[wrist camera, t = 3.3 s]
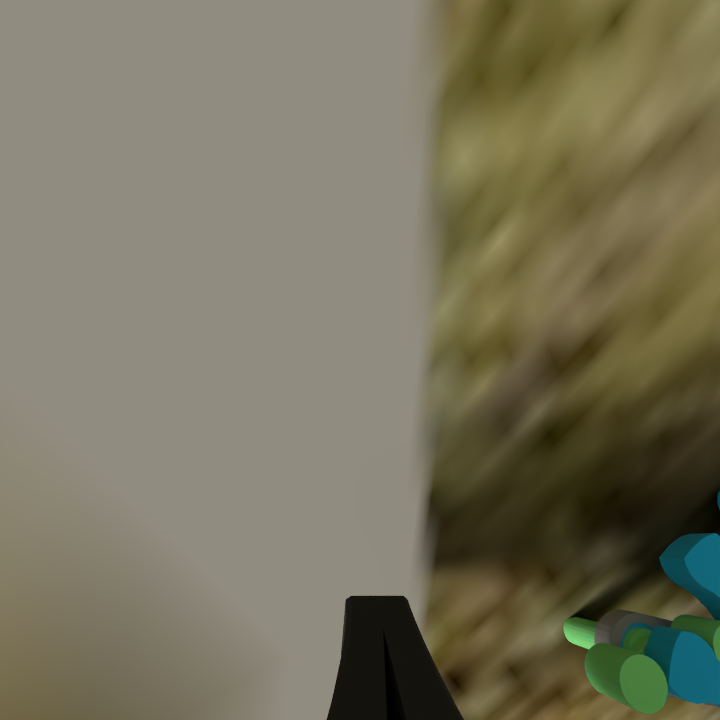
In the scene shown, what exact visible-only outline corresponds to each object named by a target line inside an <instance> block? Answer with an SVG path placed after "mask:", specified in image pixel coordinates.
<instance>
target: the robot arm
mask: <svg viewBox="0 0 720 720" xmlns="http://www.w3.org/2000/svg"><path fill="white" fill-rule="evenodd" d="M327 720H464V719H463V717H462V716H461V714H460V712H459V710H458V708H457V706H456V705H455V703H454V701H453V699H452V697H451V695H450V693H449V691H448V689H447V687H446V685H445V683H444V681H443V680H442V678H441V676H440V674H439V672H438V670H437V668H436V666H435V664H434V661H433V659H432V657H431V655H430V653H429V651H428V649H427V646H426V644H425V642H424V640H423V638H422V635H421V633H420V631H419V628H418V626H417V624H416V621H415V619H414V616H413V613H412V611H411V608H410V606H409V603H408V600H407V599H406V598H405V597H404V596H350V597H349V598H347V599H346V604H345V615H344V627H343V639H342V650H341V660H340V665H339V670H338V675H337V680H336V684H335V689H334V694H333V698H332V702H331V706H330V709H329V713H328V717H327Z"/></svg>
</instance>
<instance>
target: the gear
mask: <svg viewBox="0 0 720 720" xmlns="http://www.w3.org/2000/svg"><path fill="white" fill-rule="evenodd" d="M717 499H718V506H719V509H720V492H718V497H717ZM659 559H660V563H661V566H662V568H663V570H664V572H665V573H666V574H667V576H668V577H669V578H670V579H671V580H672V581H673V582H674V583H675V584H677V585H679V586H681V587H682V588H684V589H686V590H687V591H689V592H690V593H691V594H692V595H694V596H695V597H696V598H697V599H698V600H699V601H700V602H701V603H702V604H703V605H704V606H705V607H706V608H707V609H708V611H709V612H710V613H711V615H712V616H713V617H714V619H715V620H714V619H708V618H703V617H697V616H692V615H680V616H678V617H676V618H675V619H674V620H673V621H669V620H665V619H661V618H657V617H653V616H648V615H645V614H641V613H636V612H631V611H626V610H613V611H610V612H608V613H606V614H605V615H604V616H603V617H602V618H601V619H600V621H599V622H594V621H590V620H586V619H583V618H579V617H572V618H569V619H567V620H566V621H565V623H564V634H565V636H566V638H567V639H568V640H569V641H570V642H571V643H573V644H576V645H579V646H581V647H584V648H587V649H589V651H588V652H587V654H586V658H585V671H586V675H587V677H588V679H589V681H590V683H591V684H592V686H593V687H594V688H595V689H596V690H598V691H599V692H601V693H603V694H605V695H607V696H609V697H611V698H613V699H615V700H617V701H619V702H621V703H623V704H625V705H627V706H629V707H631V708H633V709H635V710H637V711H639V712H641V713H645V714H653V713H655V712H658V711H659V710H660V709H661V708H662V707H663V706H664V704H665V702H666V699H667V695H670V696H674V697H678V698H681V699H683V700H686V701H688V702H692V703H696V704H700V703H704V704H708V705H712V706H716V707H720V536H719V535H718V534H716V533H701V534H687V535H684V536H681V537H680V538H678V539H676V540H675V541H674V542H673V543H672V544H670V545H669V546H668V547H667V548H666V550H665V551H664V552H663V553H662V555H661V556H660V557H659Z"/></svg>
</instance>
